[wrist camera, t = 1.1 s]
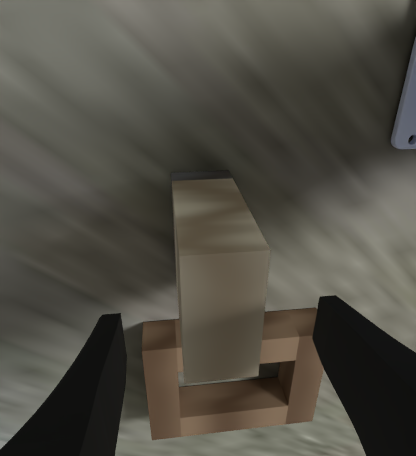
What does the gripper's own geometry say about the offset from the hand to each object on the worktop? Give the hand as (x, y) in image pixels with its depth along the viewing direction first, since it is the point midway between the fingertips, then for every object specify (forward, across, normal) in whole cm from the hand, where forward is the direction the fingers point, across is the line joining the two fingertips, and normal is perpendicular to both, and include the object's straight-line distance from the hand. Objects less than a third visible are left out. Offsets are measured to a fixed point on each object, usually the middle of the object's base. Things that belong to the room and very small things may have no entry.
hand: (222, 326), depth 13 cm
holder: (+8, -2, +11) cm, 14 cm away
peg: (+8, 0, 0) cm, 8 cm away
